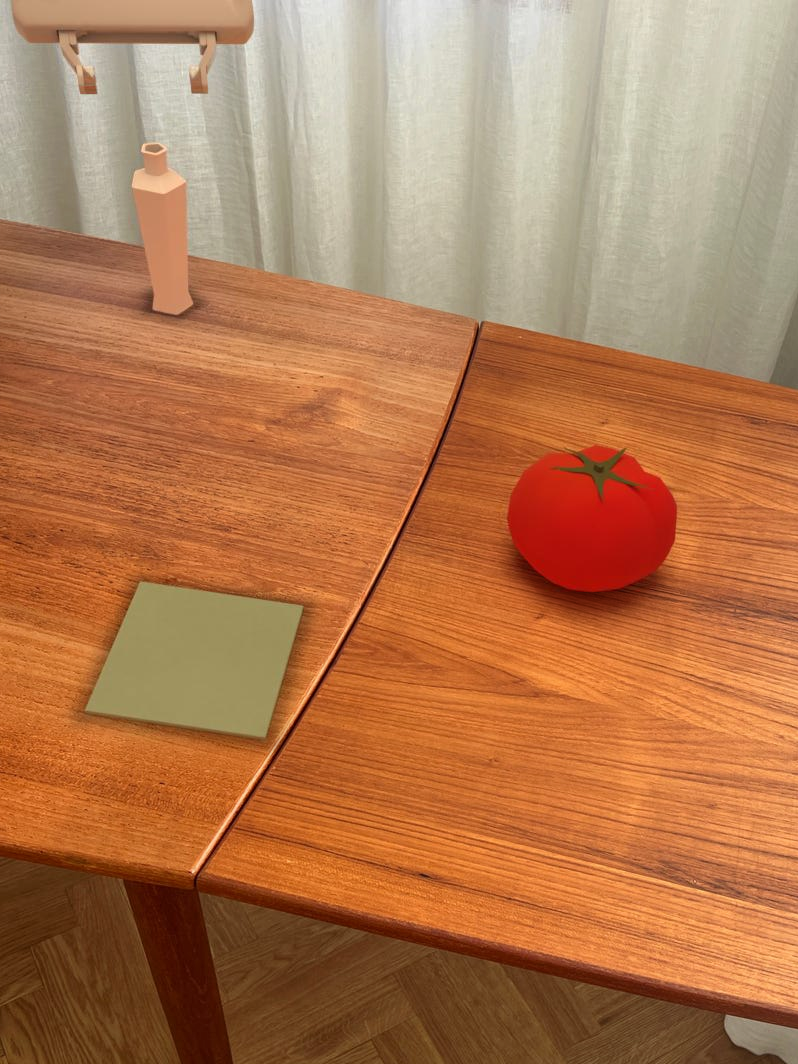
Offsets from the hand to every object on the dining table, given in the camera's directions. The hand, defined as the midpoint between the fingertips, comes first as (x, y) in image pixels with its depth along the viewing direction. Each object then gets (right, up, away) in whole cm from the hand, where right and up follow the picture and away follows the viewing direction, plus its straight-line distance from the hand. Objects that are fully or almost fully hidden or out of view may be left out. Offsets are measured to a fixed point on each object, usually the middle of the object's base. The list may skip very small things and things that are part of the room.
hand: (144, 91), depth 101 cm
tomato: (+37, -42, -11) cm, 57 cm away
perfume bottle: (+1, -17, +6) cm, 18 cm away
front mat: (+10, -49, -21) cm, 55 cm away
